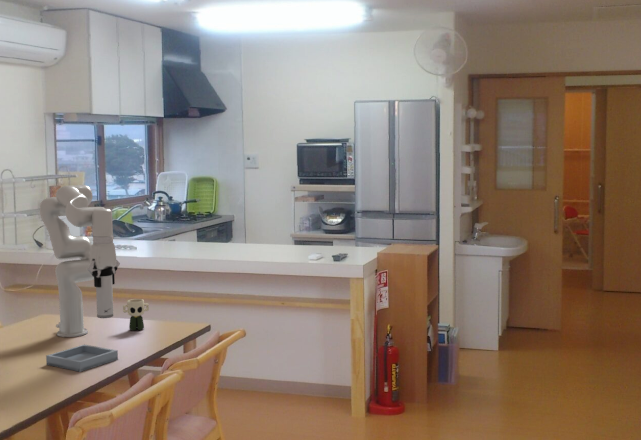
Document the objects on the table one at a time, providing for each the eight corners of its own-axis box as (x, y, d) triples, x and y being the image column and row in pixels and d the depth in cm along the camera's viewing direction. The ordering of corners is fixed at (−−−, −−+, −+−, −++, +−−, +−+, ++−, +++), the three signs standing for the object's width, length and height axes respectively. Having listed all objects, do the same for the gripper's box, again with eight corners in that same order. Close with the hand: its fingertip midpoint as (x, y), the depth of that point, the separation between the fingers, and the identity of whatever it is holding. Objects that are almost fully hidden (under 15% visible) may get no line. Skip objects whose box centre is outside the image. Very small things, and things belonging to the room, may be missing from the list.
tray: (46, 364, 284) (46, 355, 284) (84, 353, 300) (84, 344, 299) (80, 371, 275) (79, 362, 275) (117, 359, 290) (117, 350, 290)
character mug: (124, 332, 332) (123, 302, 331) (123, 328, 339) (122, 299, 338) (150, 330, 335) (148, 301, 334) (149, 326, 342) (147, 297, 341)
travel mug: (109, 318, 301) (108, 268, 299) (94, 318, 303) (92, 267, 300) (117, 315, 307) (115, 265, 305) (101, 314, 309) (100, 265, 306)
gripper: (112, 237, 311) (114, 281, 313) (79, 242, 296) (80, 288, 298) (126, 238, 307) (127, 282, 309) (92, 243, 292) (94, 290, 294)
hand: (104, 285), depth 304 cm, fingers closed on travel mug, 6 cm apart
